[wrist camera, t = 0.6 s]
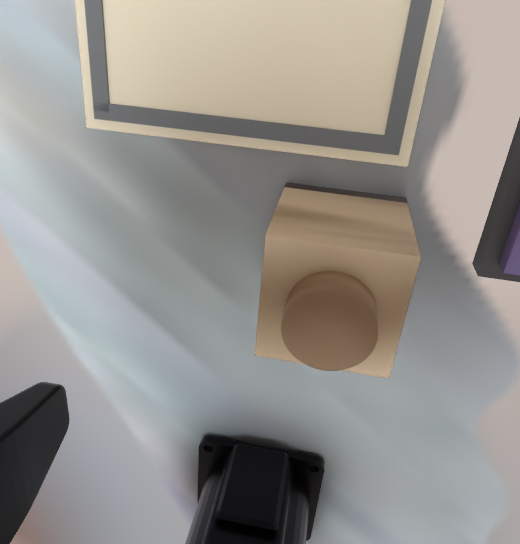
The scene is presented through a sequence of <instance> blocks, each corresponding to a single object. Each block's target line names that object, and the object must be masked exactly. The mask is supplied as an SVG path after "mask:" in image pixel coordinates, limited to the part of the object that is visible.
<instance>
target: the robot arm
mask: <svg viewBox="0 0 520 544" xmlns="http://www.w3.org/2000/svg"><path fill="white" fill-rule="evenodd" d="M68 425H69V412H68V406H67V397H66V391H65V388H64V387H63V386H62V385H59V384H53V383H48V382H41V383H38V384H36V385H34V386H32V387H30V388H28V389H26V390H24V391H22V392H20V393H18V394H16V395H15V396H13V397H11V398H9V399H7V400H5V401H3V402H1V403H0V544H9V543H10V542H11V541H12V539H13V537H14V535H15V534H16V532H17V531H18V529H19V527H20V526H21V524H22V522H23V520H24V519H25V517H26V515H27V513H28V511H29V510H30V508H31V506H32V504H33V502H34V500H35V498H36V496H37V494H38V492H39V489H40V487H41V485H42V483H43V481H44V479H45V477H46V475H47V473H48V470H49V468H50V466H51V464H52V462H53V460H54V457H55V455H56V453H57V451H58V449H59V447H60V445H61V443H62V441H63V438H64V436H65V434H66V432H67V429H68ZM208 445H209V446H208ZM323 474H324V461H323V459H322V458H320V457H318V456H314V455H308V454H303V453H298V452H292V451H287V450H282V449H277V448H271V447H266V446H261V445H255V444H250V443H245V442H240V441H234V440H229V439H224V438H218V437H213V436H205V437H203V438H202V440H201V442H200V445H199V469H198V506H197V509H196V512H195V515H194V518H193V521H192V525H191V528H190V531H189V534H188V537H187V540H186V544H306V541H307V540H309V539H310V537H311V532H312V527H313V522H314V517H315V512H316V508H317V503H318V498H319V493H320V488H321V483H322V478H323Z"/></svg>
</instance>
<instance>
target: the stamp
mask: <svg viewBox="0 0 520 544" xmlns="http://www.w3.org/2000/svg"><path fill="white" fill-rule="evenodd" d="M420 259H421V255H420V251H419V247H418V243H417V239H416V235H415V231H414V227H413V223H412V219H411V215H410V211H409V207H408V203H407V199H406V198H403V197H395V196H387V195H380V194H372V193H364V192H356V191H349V190H341V189H333V188H325V187H317V186H310V185H302V184H294V183H286V184H285V187H284V189H283V192H282V194H281V197H280V199H279V202H278V205H277V207H276V210H275V212H274V215H273V217H272V220H271V222H270V225H269V227H268V230H267V232H266V235H265V246H264V257H263V268H262V279H261V291H260V302H259V313H258V324H257V335H256V346H255V356H261V357H266V358H272V359H278V360H284V361H290V362H296V363H302V364H306V365H308V366H310V367H313V368H316V369H320V370H326V371H338V370H343V371H349V372H355V373H361V374H366V375H372V376H378V377H384V378H389V377H390V373H391V369H392V366H393V362H394V358H395V354H396V350H397V347H398V343H399V339H400V335H401V331H402V328H403V324H404V320H405V316H406V312H407V309H408V305H409V301H410V297H411V294H412V290H413V286H414V282H415V278H416V275H417V271H418V267H419V263H420Z"/></svg>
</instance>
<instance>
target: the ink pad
mask: <svg viewBox="0 0 520 544" xmlns="http://www.w3.org/2000/svg"><path fill="white" fill-rule="evenodd" d="M473 266H474V268H475V270H476V273H477V275H478V276H482V277H488V278H496V279H502V280H509V281H516V282H520V118H519V121H518V125H517V128H516V131H515V134H514V137H513V140H512V143H511V146H510V149H509V152H508V156H507V159H506V162H505V165H504V168H503V171H502V174H501V177H500V180H499V183H498V186H497V189H496V192H495V196H494V199H493V202H492V205H491V208H490V211H489V214H488V217H487V220H486V223H485V227H484V230H483V233H482V236H481V239H480V242H479V245H478V248H477V252H476V254H475V257H474V260H473Z"/></svg>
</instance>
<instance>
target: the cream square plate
mask: <svg viewBox="0 0 520 544" xmlns="http://www.w3.org/2000/svg"><path fill="white" fill-rule="evenodd" d="M444 4H445V0H75V8H76V18H77V29H78V40H79V51H80V61H81V72H82V83H83V94H84V105H85V115H86V126H87V128H93V129H101V130H109V131H117V132H125V133H134V134H142V135H150V136H158V137H166V138H174V139H183V140H191V141H199V142H207V143H215V144H223V145H232V146H240V147H248V148H256V149H264V150H273V151H281V152H289V153H297V154H305V155H313V156H322V157H330V158H338V159H346V160H354V161H362V162H371V163H379V164H387V165H395V166H403V167H408V163H409V159H410V154H411V150H412V145H413V141H414V137H415V132H416V128H417V123H418V119H419V115H420V110H421V106H422V101H423V97H424V93H425V88H426V84H427V79H428V75H429V70H430V66H431V62H432V57H433V53H434V48H435V44H436V40H437V35H438V31H439V26H440V22H441V18H442V13H443V9H444Z"/></svg>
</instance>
